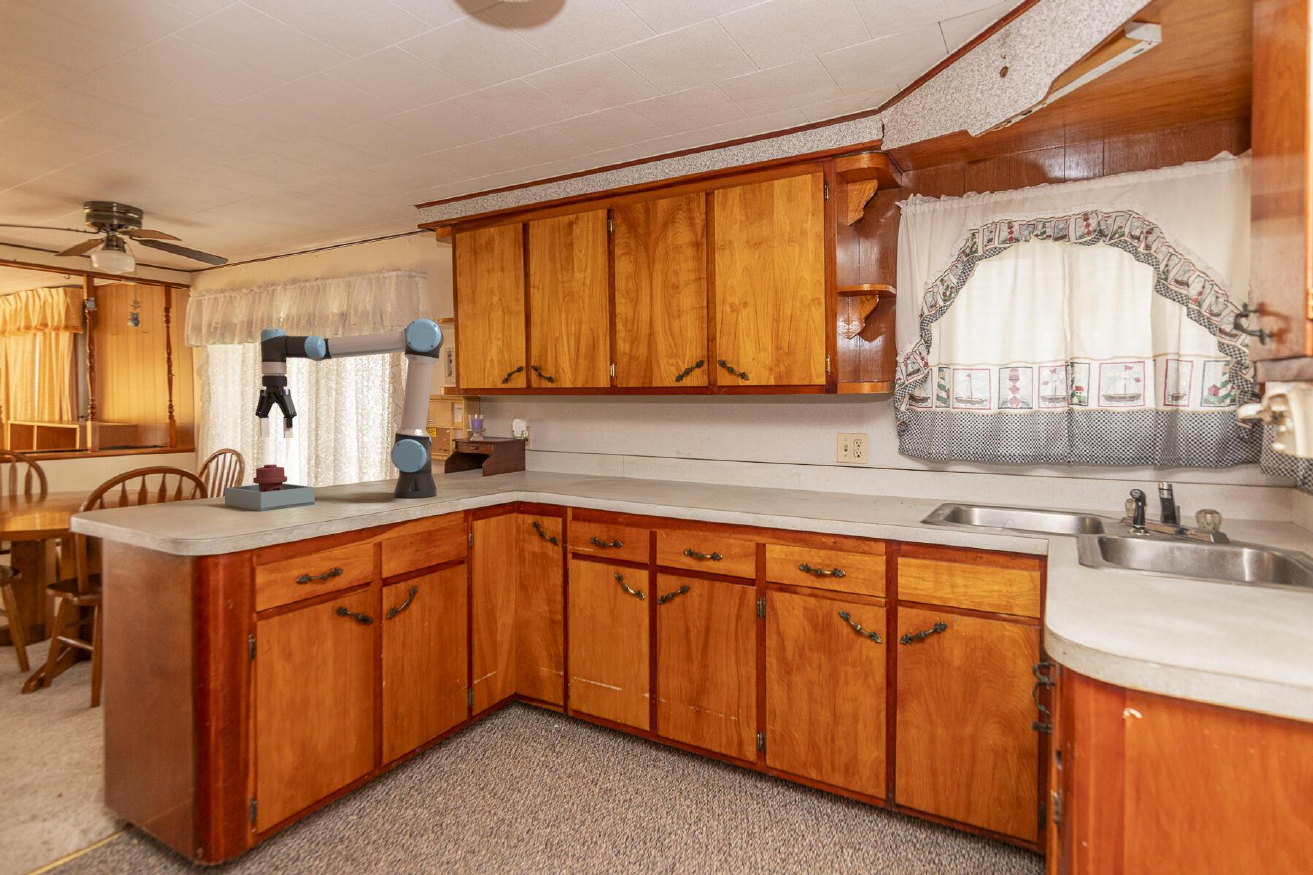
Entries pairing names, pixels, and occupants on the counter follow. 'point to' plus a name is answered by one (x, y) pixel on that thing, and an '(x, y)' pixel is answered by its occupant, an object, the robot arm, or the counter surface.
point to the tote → (269, 497)
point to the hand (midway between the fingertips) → (276, 437)
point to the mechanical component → (270, 478)
